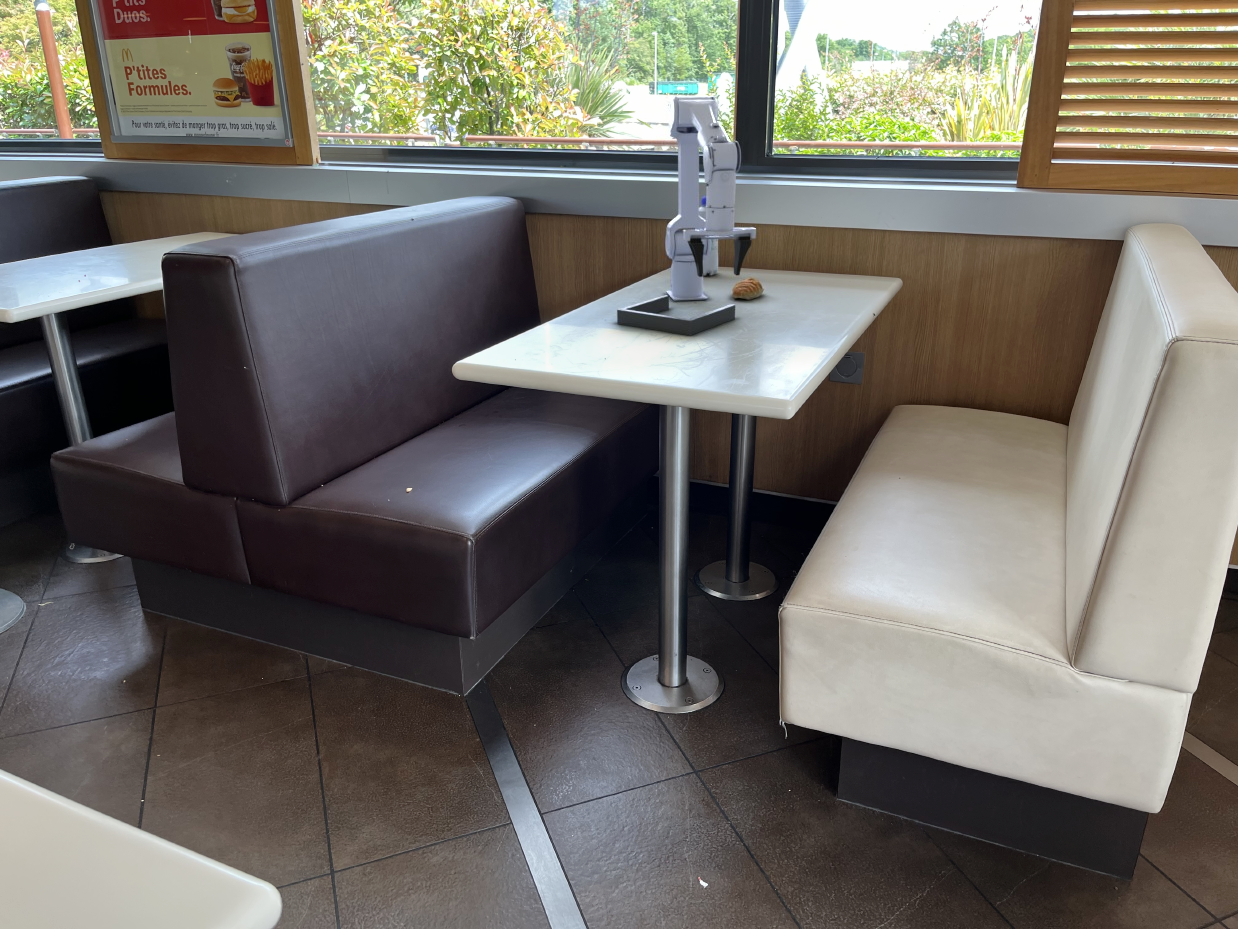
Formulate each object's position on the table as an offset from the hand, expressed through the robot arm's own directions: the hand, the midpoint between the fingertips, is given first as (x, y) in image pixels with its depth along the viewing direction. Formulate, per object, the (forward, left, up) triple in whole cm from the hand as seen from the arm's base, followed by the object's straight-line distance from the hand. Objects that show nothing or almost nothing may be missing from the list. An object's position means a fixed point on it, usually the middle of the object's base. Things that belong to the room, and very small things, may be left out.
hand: (718, 275), depth 182 cm
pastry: (-25, +13, -10) cm, 30 cm away
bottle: (-55, +10, -10) cm, 57 cm away
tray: (-4, -8, -10) cm, 13 cm away
